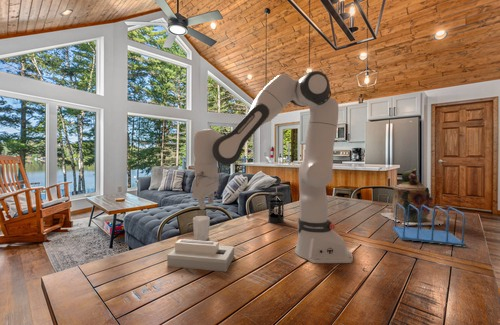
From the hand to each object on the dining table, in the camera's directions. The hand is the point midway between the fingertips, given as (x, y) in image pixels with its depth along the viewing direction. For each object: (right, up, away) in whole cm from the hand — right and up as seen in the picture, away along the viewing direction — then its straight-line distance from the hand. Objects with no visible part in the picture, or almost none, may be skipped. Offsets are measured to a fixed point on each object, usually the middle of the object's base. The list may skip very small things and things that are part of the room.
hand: (206, 206), depth 95 cm
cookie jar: (+116, -19, +55) cm, 129 cm away
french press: (+32, -18, +50) cm, 63 cm away
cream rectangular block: (-3, -19, -3) cm, 20 cm away
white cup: (-6, -19, +21) cm, 29 cm away
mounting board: (-1, -20, -3) cm, 21 cm away
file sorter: (+103, -20, +24) cm, 108 cm away
